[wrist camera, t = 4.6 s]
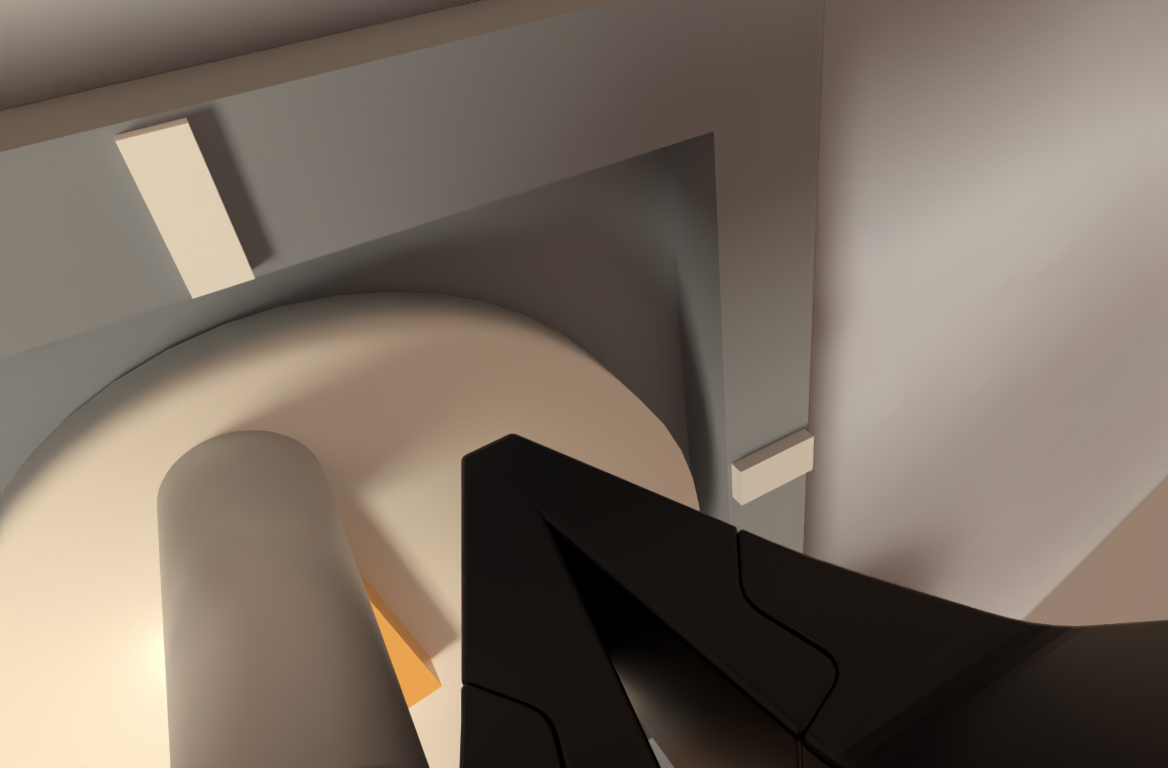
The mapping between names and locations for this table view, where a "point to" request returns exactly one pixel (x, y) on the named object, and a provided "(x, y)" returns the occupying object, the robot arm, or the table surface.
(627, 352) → the dial panel
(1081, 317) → the table surface
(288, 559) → the dial
